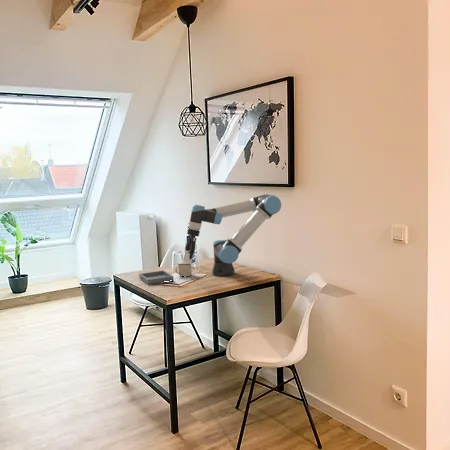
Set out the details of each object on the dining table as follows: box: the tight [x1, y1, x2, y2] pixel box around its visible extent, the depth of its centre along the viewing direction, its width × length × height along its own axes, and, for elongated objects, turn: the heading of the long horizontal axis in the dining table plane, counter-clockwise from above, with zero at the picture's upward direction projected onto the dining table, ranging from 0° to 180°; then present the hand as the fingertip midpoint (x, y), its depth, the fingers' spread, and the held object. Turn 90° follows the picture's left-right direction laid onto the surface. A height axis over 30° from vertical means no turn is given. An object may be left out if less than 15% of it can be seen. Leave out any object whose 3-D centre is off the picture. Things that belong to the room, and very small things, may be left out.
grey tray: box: [138, 269, 174, 286], centre depth 311 cm, size 17×20×4 cm
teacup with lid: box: [174, 259, 193, 277], centre depth 318 cm, size 12×9×12 cm
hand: (187, 262), depth 299 cm, fingers open, 13 cm apart
